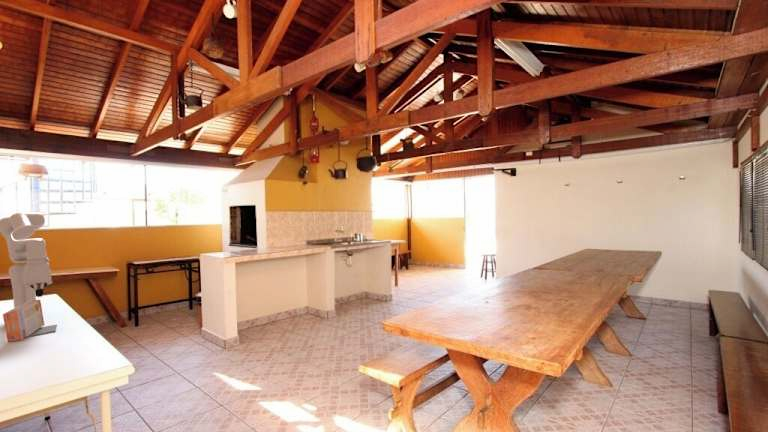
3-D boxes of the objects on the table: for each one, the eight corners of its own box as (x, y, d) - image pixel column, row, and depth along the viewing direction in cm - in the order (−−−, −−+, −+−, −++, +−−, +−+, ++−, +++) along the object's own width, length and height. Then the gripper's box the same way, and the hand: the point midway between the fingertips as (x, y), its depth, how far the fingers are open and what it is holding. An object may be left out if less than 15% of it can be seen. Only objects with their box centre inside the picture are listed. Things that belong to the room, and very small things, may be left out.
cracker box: (26, 301, 190) (1, 314, 171) (40, 299, 193) (18, 311, 173) (30, 327, 192) (6, 342, 172) (44, 324, 194) (22, 340, 175)
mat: (25, 331, 189) (25, 330, 189) (56, 325, 197) (56, 324, 197) (22, 338, 178) (22, 337, 178) (55, 331, 186) (55, 330, 186)
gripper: (56, 259, 203) (58, 292, 203) (18, 263, 193) (21, 298, 194) (55, 260, 197) (58, 294, 197) (16, 265, 187) (19, 300, 188)
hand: (39, 296), depth 196 cm, fingers closed
